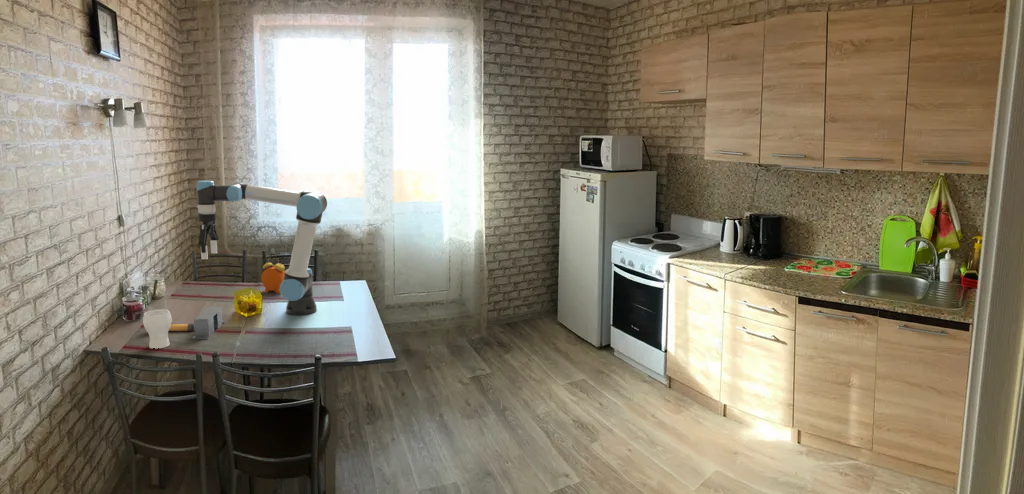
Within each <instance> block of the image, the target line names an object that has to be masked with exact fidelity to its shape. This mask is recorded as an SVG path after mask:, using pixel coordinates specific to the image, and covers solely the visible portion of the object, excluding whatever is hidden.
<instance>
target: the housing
mask: <svg viewBox="0 0 1024 494" xmlns="http://www.w3.org/2000/svg"><path fill="white" fill-rule="evenodd" d="M193 321H194V322H193V323H194V328H195V329H194V335H193V336H192V337H191V339H192V340H209V339H210V338H211V336H212V335H213V334H214V333H215V329H220V327H221V326H223V324H225V323H226V320H223V307H222V306H208V307H207V308H205V309H204V310H203V311H202V312H201V313H199V314H198V315H197V316H196V317H195V318H193Z"/></svg>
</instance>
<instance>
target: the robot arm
mask: <svg viewBox="0 0 1024 494" xmlns="http://www.w3.org/2000/svg"><path fill="white" fill-rule="evenodd" d="M196 198H197V206H196V208H197V210H198V211H197V213H198V221H199V222H202V224H200V225H199V238H198V245H197V246H198V247H200V256H201V257H200V258H201V260H208V259H209V255H208V254H209V253H208V245H207V242H208V239H210V254H218V245H217V244H218V240H219V236H218V231H217V227H216V221H217V214H216V212H217V209H216V208H217V207H216V202H240V201H241V200H246V201H247V200H249V201H255V202H260V203H261V202H262V203H268V204H269V203H271V204H276V205H283V206H290V207H296V217H295V219H296V220H297V222H298V223H297V228H296V233H295V238H294V240H293V241H294V242H293V248H292V252H291V256H290V262H289V265H288V266H289V267H288V268H287V269H286V270H284V271H285V274H284V279H283V282H282V283H281V285H280V295H281V297H282V298H283V299H285V300H286V301H287V303H286V307H285V311H286V313H287V314H289V315H294V316H304V315H309V314H313V313H316V312H317V304H316V301H315V299H314V294H313V290H314V289H313V270H312V268H309V264H310V258H311V253H312V249H313V245H314V239H315V235H316V229H317V226H318V225H320V224H321V221H322V217H323V213H324V212H326V211H325V210H326V209H327V206H328V201H327V198H326V195H324V194H323V193H321V192H319V191H314V190H313V191H310V190H300V191H296V190H295V191H294V190H290V189H289V190H287V189H280V188H273V187H266V186H258V185H252V184H246V183H243V182H233V183H231V184H227V185H223V184H222V185H218V184H215V182H214V181H213V180H198V181H197V182H196Z"/></svg>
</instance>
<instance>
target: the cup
mask: <svg viewBox="0 0 1024 494" xmlns="http://www.w3.org/2000/svg"><path fill="white" fill-rule="evenodd" d="M172 317H173V316H172V315H171V311H170V310H168V309H163V308H162V309H161V308H159V309H151V310H148V311H145V312H144V314H143V318H142V322H143V323H142V324H143V328H144V329H145V330H146V332H147V333H148V336H149V343H148V345H149V346H148V347H149V349H153V348H155V349H154V350H157V349H158V348H159V349H165V348H168V346H170V339H169V332H170V331H169V329H170V326H171V324H172ZM159 349H158V350H159Z"/></svg>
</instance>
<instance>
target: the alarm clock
mask: <svg viewBox="0 0 1024 494" xmlns="http://www.w3.org/2000/svg"><path fill="white" fill-rule="evenodd" d="M274 259H277V263H276V264H273V263H272V262H269V261H270V258H268V262H265V264H263V266H262V270H263V271H262V273H261V276H260V278H261V279H260V281H261V283H262V285H263V287H264V288H265V289H264V293H269V292H272V291H273V292H275V293H276V294H279V295H281V293H280V285H281V283H282V282H283V279H284V274H285V269H286V268H285V265H284V264H282V263H279V262H280V261H279V260H278V258H277V257H276V258H274ZM271 266H272V267H271Z"/></svg>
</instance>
